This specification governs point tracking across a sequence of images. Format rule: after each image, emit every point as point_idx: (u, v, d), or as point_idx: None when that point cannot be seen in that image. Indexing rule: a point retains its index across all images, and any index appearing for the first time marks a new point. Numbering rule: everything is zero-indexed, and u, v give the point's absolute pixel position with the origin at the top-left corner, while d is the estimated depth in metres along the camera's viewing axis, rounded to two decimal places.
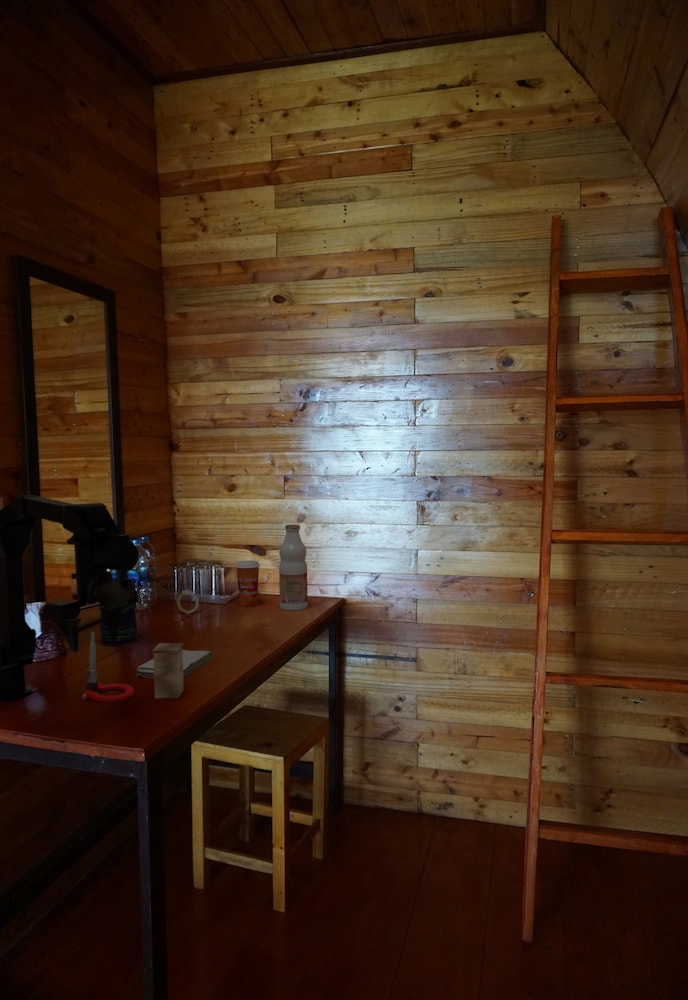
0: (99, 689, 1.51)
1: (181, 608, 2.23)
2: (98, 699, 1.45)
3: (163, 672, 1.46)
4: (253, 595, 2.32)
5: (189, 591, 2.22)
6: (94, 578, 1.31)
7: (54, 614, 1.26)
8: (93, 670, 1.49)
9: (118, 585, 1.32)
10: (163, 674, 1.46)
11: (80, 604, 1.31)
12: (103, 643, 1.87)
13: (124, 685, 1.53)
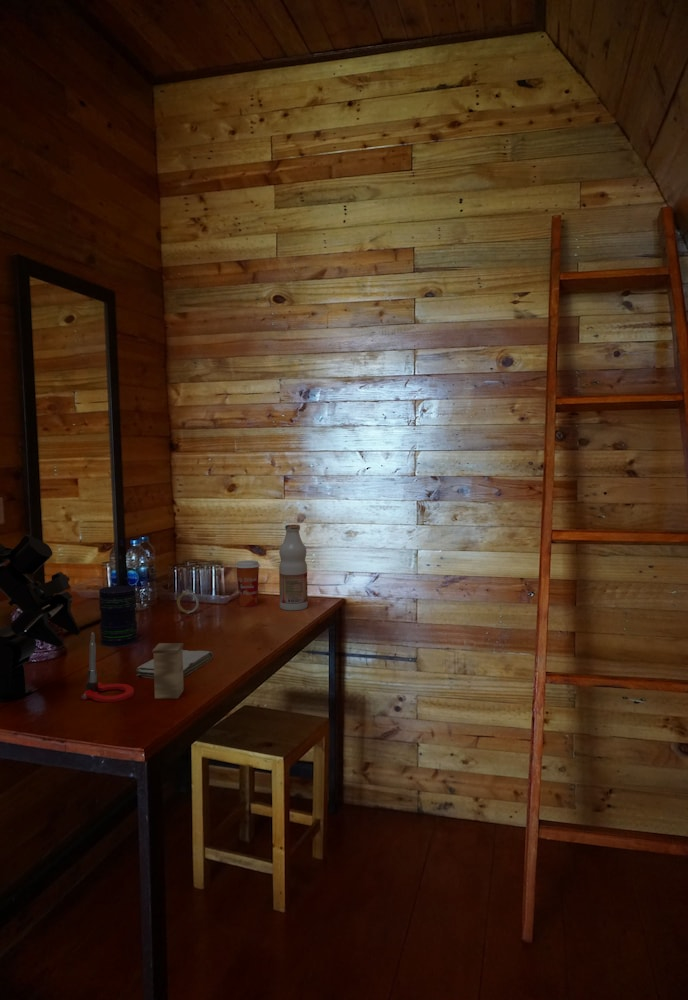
0: (99, 689, 1.51)
1: (181, 608, 2.23)
2: (98, 699, 1.45)
3: (163, 672, 1.46)
4: (253, 595, 2.32)
5: (189, 591, 2.22)
6: (30, 585, 1.45)
7: (25, 620, 1.39)
8: (93, 670, 1.49)
9: None
10: (163, 674, 1.46)
11: None
12: (103, 643, 1.87)
13: (124, 685, 1.53)
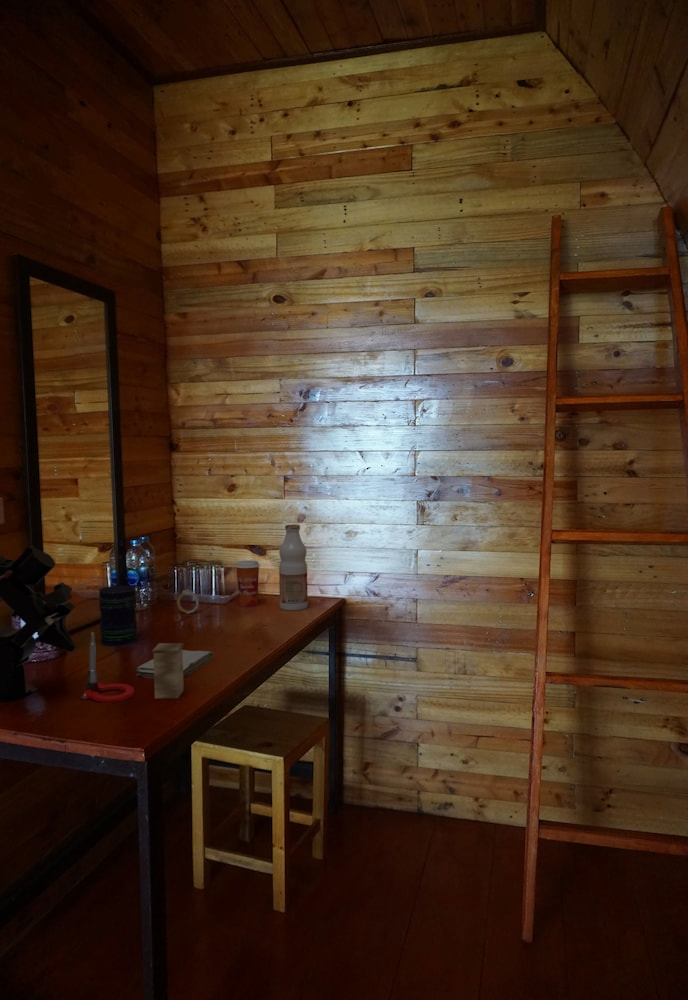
0: (99, 689, 1.51)
1: (181, 608, 2.23)
2: (98, 699, 1.45)
3: (163, 672, 1.46)
4: (253, 595, 2.32)
5: (189, 591, 2.22)
6: (33, 596, 1.46)
7: (28, 632, 1.39)
8: (93, 670, 1.49)
9: None
10: (163, 674, 1.46)
11: None
12: (103, 643, 1.87)
13: (124, 685, 1.53)
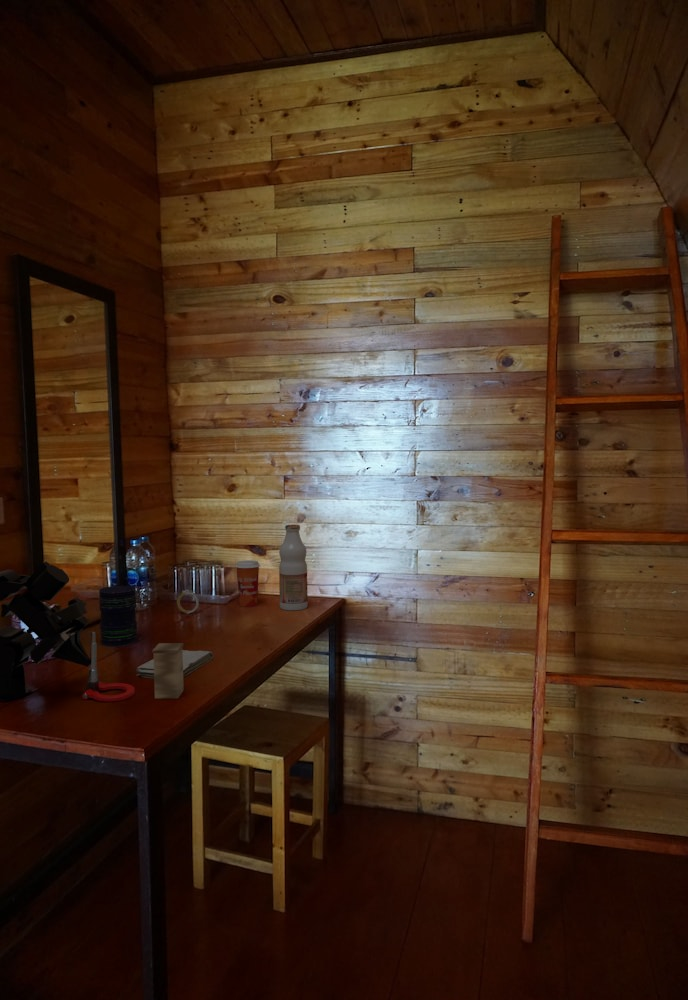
0: (100, 688, 1.51)
1: (181, 608, 2.23)
2: (99, 698, 1.45)
3: (163, 672, 1.46)
4: (253, 595, 2.32)
5: (189, 591, 2.22)
6: (48, 612, 1.46)
7: (44, 648, 1.39)
8: (94, 669, 1.49)
9: None
10: (163, 674, 1.46)
11: None
12: (103, 643, 1.87)
13: (125, 684, 1.53)
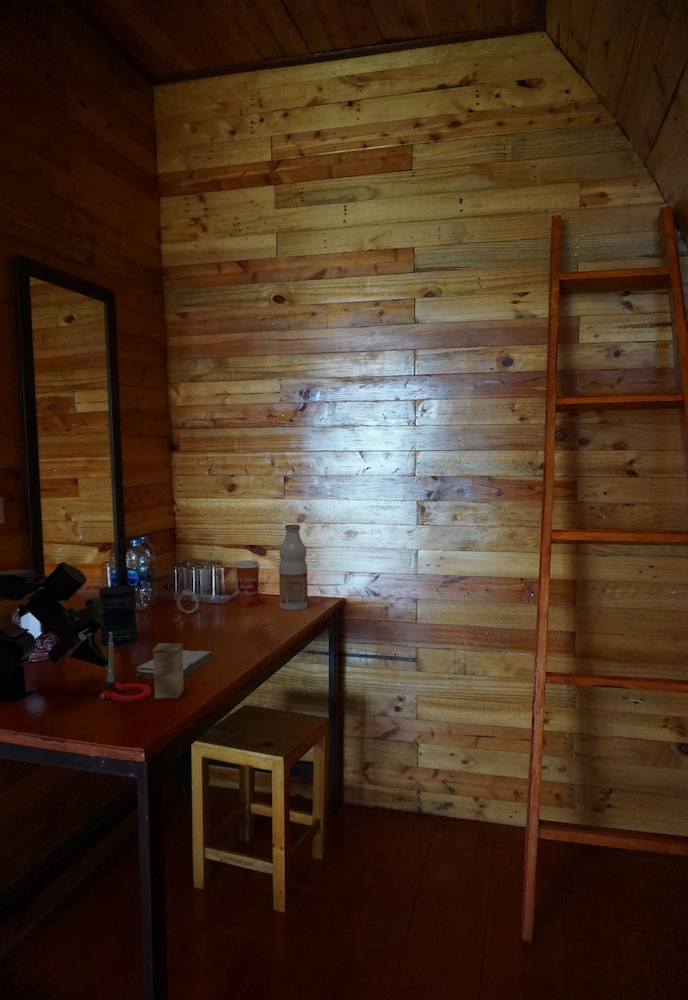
0: (117, 689, 1.51)
1: (181, 608, 2.23)
2: (116, 699, 1.45)
3: (163, 672, 1.46)
4: (253, 595, 2.32)
5: (189, 591, 2.22)
6: (65, 612, 1.46)
7: (62, 648, 1.39)
8: (111, 670, 1.49)
9: (86, 606, 1.49)
10: (163, 674, 1.46)
11: None
12: (103, 643, 1.87)
13: (141, 685, 1.53)
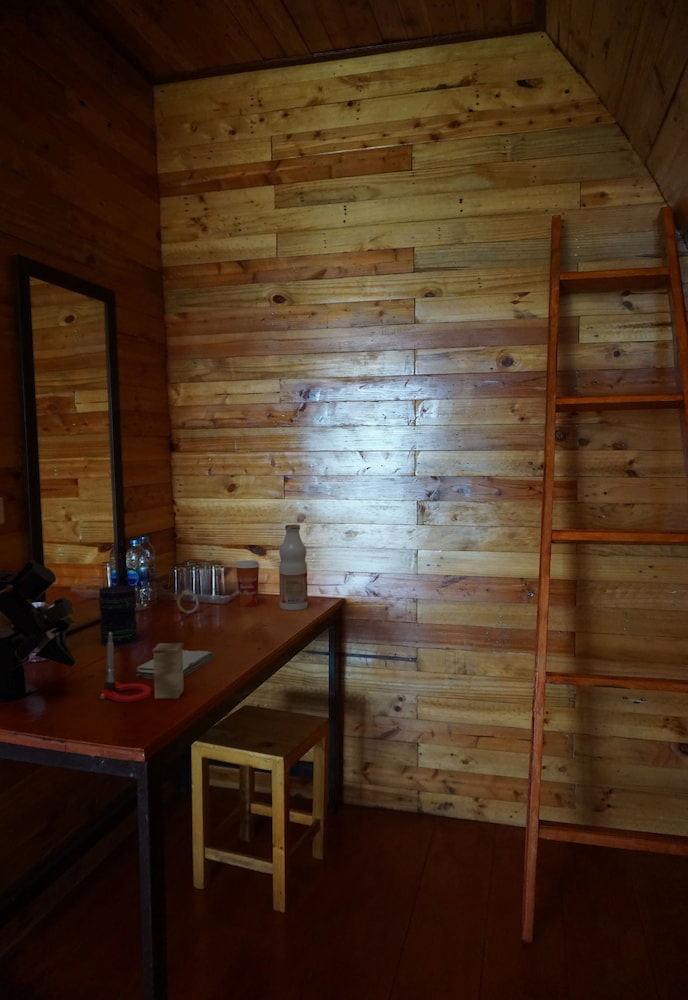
0: (117, 689, 1.51)
1: (181, 608, 2.23)
2: (116, 699, 1.45)
3: (163, 672, 1.46)
4: (253, 595, 2.32)
5: (189, 591, 2.22)
6: (34, 611, 1.46)
7: (30, 646, 1.39)
8: (111, 670, 1.49)
9: None
10: (163, 674, 1.46)
11: None
12: (103, 643, 1.87)
13: (141, 685, 1.53)
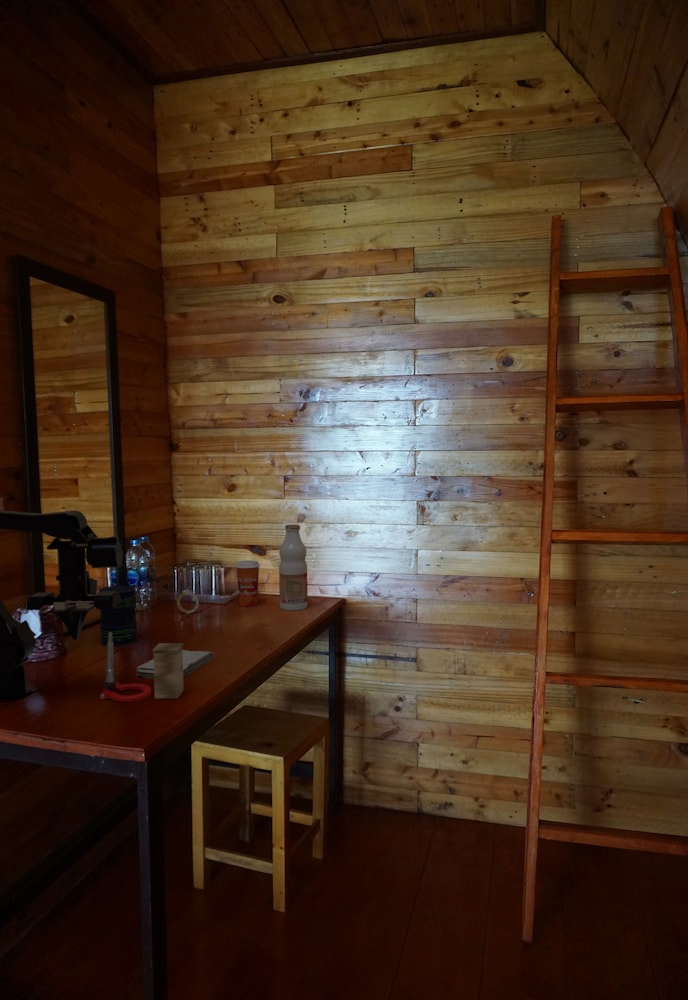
0: (117, 689, 1.51)
1: (181, 608, 2.23)
2: (116, 699, 1.45)
3: (163, 672, 1.46)
4: (253, 595, 2.32)
5: (189, 591, 2.22)
6: None
7: (117, 600, 1.50)
8: (111, 670, 1.49)
9: None
10: (163, 674, 1.46)
11: None
12: (103, 643, 1.87)
13: (141, 685, 1.53)
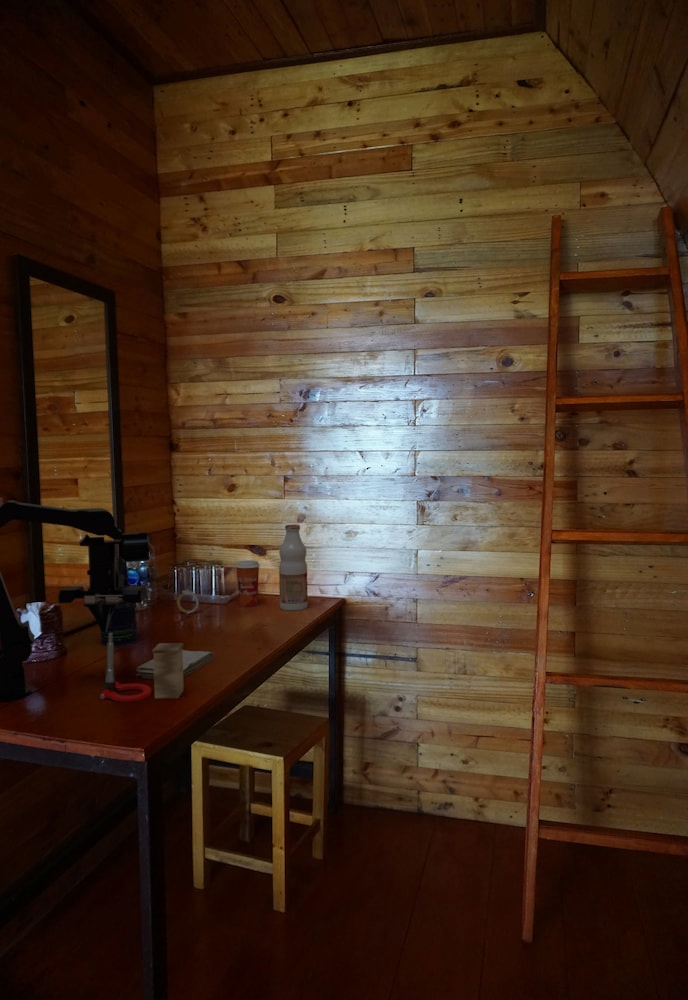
0: (117, 689, 1.51)
1: (181, 608, 2.23)
2: (116, 699, 1.45)
3: (163, 672, 1.46)
4: (253, 595, 2.32)
5: (189, 591, 2.22)
6: None
7: (145, 594, 1.56)
8: (111, 670, 1.49)
9: None
10: (163, 674, 1.46)
11: None
12: (103, 643, 1.87)
13: (141, 685, 1.53)
